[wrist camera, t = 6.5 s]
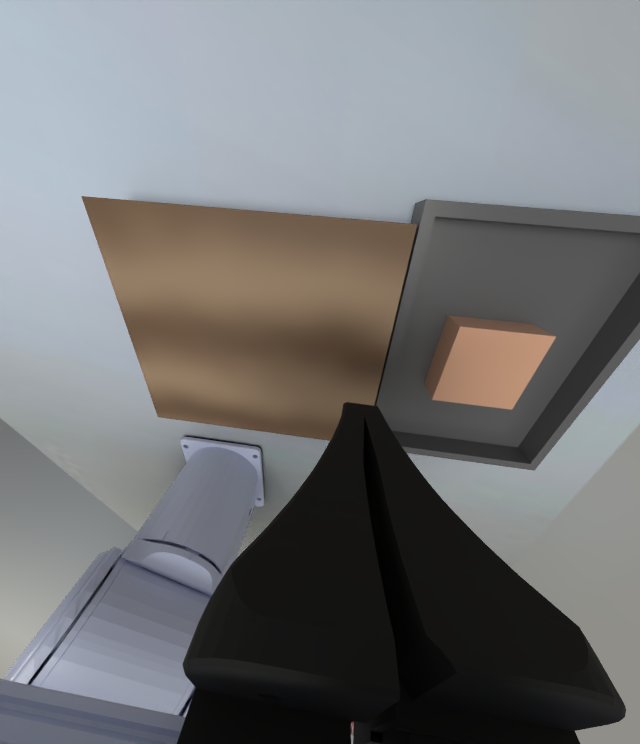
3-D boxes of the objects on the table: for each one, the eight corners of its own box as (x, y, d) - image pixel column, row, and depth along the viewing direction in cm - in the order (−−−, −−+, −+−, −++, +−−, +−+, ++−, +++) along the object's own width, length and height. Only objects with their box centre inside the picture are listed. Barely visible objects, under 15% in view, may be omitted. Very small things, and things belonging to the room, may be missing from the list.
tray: (517, 448, 20) (534, 470, 19) (364, 427, 21) (365, 447, 19) (673, 224, 12) (732, 223, 10) (415, 203, 13) (426, 199, 11)
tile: (432, 399, 16) (424, 383, 18) (512, 409, 16) (496, 391, 17) (460, 326, 13) (447, 315, 15) (556, 336, 13) (532, 324, 15)
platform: (363, 418, 21) (364, 445, 18) (181, 394, 22) (158, 417, 19) (404, 225, 13) (417, 224, 11) (129, 201, 14) (81, 196, 12)
